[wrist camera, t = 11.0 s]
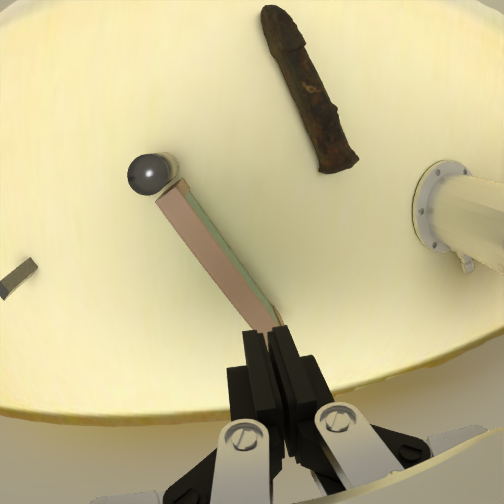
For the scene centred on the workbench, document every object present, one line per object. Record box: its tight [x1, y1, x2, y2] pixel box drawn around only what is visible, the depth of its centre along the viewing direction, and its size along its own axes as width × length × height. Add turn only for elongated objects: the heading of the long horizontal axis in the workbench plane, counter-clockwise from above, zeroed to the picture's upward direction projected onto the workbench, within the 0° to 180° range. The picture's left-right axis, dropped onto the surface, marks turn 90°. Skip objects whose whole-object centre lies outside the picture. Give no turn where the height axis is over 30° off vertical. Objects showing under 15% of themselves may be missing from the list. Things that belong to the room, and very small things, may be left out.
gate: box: [155, 178, 284, 347], centre depth 29 cm, size 2×19×7 cm, turn 33°
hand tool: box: [261, 5, 359, 174], centre depth 26 cm, size 19×4×5 cm, turn 22°
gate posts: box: [0, 153, 178, 300], centre depth 25 cm, size 3×23×9 cm, turn 120°
